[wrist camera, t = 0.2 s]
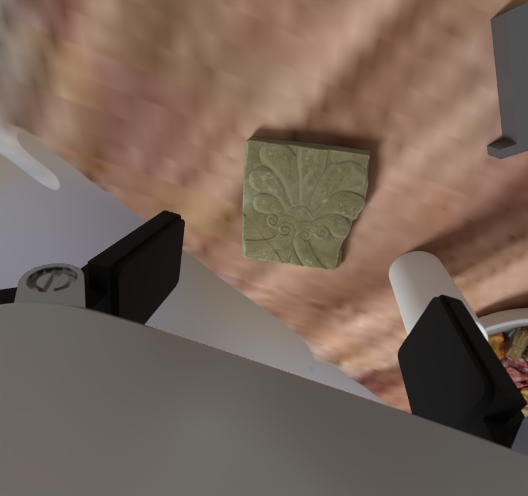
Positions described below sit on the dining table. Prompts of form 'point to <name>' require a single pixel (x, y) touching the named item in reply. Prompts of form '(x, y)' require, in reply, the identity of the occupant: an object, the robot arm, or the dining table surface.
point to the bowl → (510, 344)
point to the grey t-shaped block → (511, 80)
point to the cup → (422, 286)
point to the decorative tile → (301, 200)
